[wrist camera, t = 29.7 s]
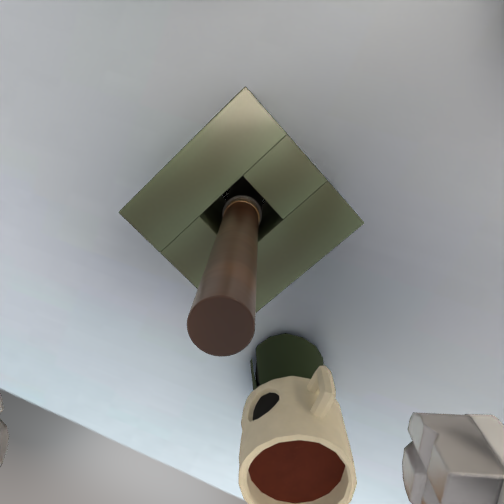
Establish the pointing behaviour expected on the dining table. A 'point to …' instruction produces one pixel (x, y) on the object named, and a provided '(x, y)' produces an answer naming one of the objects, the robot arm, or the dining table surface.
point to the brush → (229, 278)
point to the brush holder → (265, 183)
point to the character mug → (294, 429)
